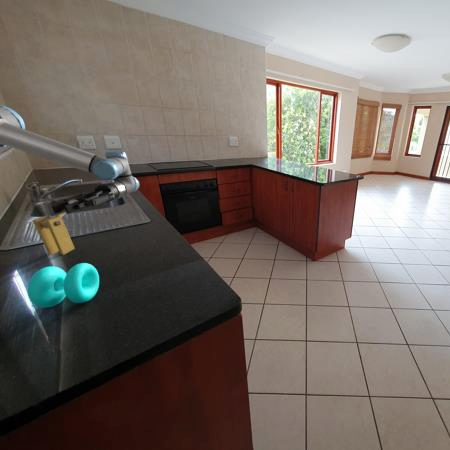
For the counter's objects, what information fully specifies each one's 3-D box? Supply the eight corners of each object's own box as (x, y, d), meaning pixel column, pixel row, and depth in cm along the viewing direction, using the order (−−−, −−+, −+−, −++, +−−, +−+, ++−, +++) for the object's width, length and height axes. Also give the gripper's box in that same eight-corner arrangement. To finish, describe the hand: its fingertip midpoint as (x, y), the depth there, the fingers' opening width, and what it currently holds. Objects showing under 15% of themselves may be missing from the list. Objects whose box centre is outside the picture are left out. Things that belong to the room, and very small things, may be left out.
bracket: (64, 247, 87) (49, 212, 81) (87, 247, 87) (73, 212, 81) (37, 262, 77) (17, 224, 72) (62, 262, 77) (44, 224, 72)
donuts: (63, 290, 65) (48, 259, 61) (105, 285, 67) (93, 255, 63) (35, 317, 56) (16, 283, 52) (85, 310, 58) (70, 277, 54)
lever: (75, 205, 88) (69, 197, 86) (84, 205, 88) (79, 197, 86) (44, 229, 77) (36, 221, 75) (54, 229, 77) (47, 221, 75)
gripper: (87, 182, 101) (30, 199, 79) (126, 182, 101) (80, 199, 79) (93, 199, 104) (40, 219, 82) (131, 199, 104) (88, 219, 82)
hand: (60, 209), depth 81 cm, fingers closed on lever, 3 cm apart
